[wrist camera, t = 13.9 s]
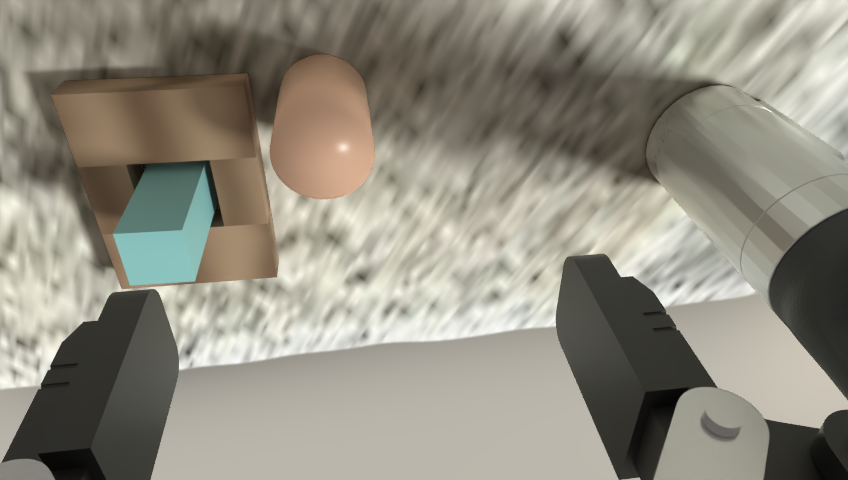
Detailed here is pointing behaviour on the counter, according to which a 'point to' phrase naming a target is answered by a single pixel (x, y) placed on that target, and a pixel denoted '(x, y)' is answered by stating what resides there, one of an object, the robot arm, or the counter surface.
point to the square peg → (167, 223)
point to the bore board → (175, 159)
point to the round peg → (322, 129)
